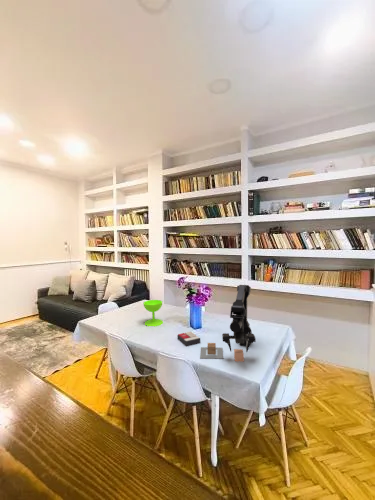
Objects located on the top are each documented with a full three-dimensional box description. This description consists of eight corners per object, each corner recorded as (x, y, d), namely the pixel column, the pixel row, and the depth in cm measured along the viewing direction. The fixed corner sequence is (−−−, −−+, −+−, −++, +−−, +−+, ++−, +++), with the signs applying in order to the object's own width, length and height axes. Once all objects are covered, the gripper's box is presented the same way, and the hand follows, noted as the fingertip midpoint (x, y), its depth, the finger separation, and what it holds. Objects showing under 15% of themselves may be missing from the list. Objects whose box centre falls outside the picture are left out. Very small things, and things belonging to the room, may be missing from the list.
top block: (234, 357, 150) (234, 349, 149) (242, 357, 149) (242, 349, 149) (235, 361, 145) (234, 353, 144) (243, 361, 144) (243, 353, 144)
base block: (207, 350, 158) (207, 342, 158) (215, 350, 158) (215, 342, 157) (207, 354, 153) (207, 346, 153) (215, 354, 153) (215, 346, 152)
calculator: (190, 330, 184) (200, 337, 170) (191, 336, 184) (200, 343, 170) (177, 333, 179) (185, 340, 166) (177, 339, 179) (186, 346, 166)
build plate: (200, 347, 163) (200, 347, 163) (222, 348, 162) (222, 347, 162) (200, 358, 149) (200, 357, 149) (223, 358, 148) (223, 358, 148)
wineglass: (140, 325, 206) (140, 304, 205) (149, 319, 222) (148, 299, 221) (158, 327, 202) (157, 305, 201) (166, 320, 217) (165, 300, 216)
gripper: (222, 331, 139) (223, 358, 140) (257, 331, 137) (257, 358, 138) (222, 323, 150) (222, 349, 151) (253, 323, 148) (254, 349, 149)
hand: (238, 351), depth 147 cm, fingers open, 9 cm apart
